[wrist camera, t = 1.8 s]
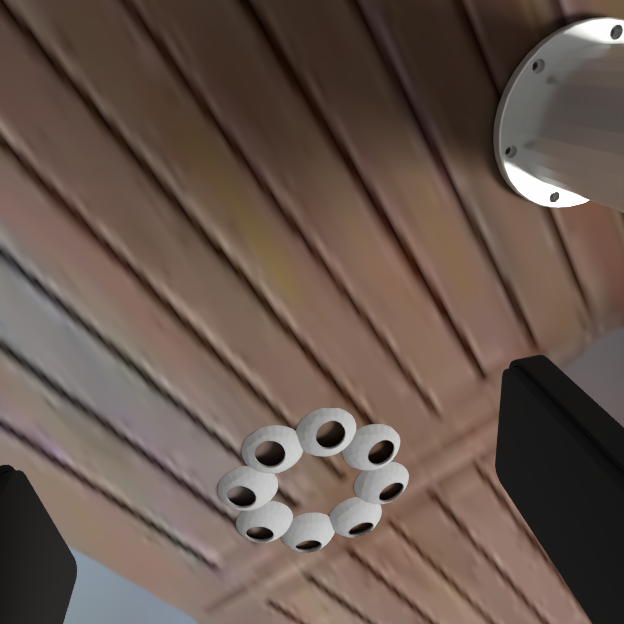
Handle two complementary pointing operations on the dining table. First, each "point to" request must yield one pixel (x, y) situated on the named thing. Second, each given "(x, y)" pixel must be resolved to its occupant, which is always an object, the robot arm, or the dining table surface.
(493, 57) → the dining table surface
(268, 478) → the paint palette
